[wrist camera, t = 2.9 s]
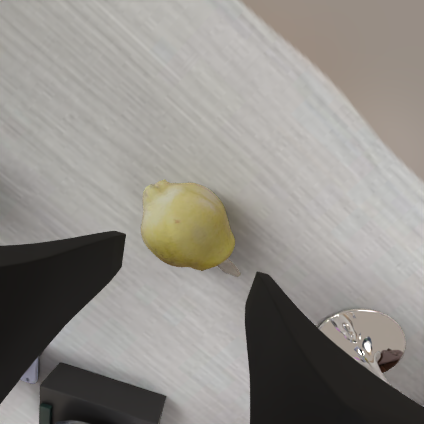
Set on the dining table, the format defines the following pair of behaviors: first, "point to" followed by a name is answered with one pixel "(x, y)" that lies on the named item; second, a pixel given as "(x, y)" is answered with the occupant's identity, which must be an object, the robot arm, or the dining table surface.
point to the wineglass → (367, 338)
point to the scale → (95, 399)
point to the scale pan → (70, 422)
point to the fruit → (187, 226)
